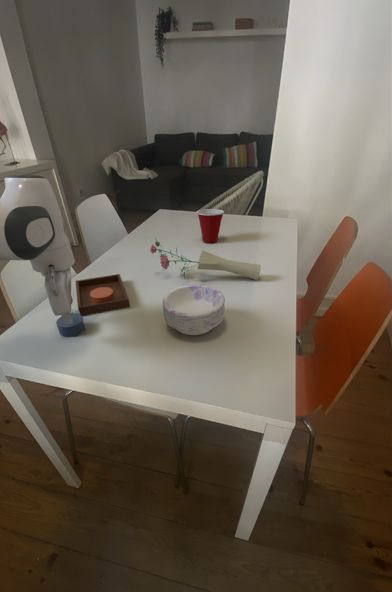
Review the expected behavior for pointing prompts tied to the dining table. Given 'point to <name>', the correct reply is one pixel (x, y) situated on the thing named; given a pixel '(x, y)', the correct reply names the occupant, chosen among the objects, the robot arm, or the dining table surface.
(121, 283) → the tray
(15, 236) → the robot arm
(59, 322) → the blue short cylinder
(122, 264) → the dining table surface
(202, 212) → the plastic cup
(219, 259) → the flower vase
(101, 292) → the orange short cylinder
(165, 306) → the paper bowls
